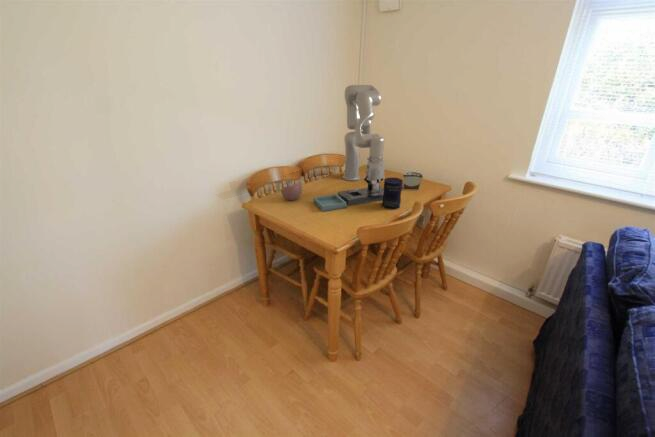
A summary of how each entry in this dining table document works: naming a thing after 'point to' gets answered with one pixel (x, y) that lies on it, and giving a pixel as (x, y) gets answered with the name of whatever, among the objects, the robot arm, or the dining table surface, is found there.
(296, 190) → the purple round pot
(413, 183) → the food container
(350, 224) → the dining table surface
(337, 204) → the parts tray
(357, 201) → the grey block with hole
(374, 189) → the steel block
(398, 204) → the storage jar
